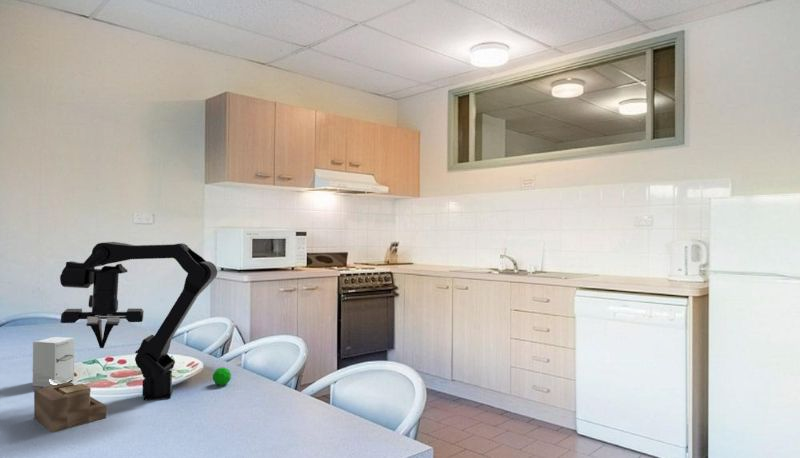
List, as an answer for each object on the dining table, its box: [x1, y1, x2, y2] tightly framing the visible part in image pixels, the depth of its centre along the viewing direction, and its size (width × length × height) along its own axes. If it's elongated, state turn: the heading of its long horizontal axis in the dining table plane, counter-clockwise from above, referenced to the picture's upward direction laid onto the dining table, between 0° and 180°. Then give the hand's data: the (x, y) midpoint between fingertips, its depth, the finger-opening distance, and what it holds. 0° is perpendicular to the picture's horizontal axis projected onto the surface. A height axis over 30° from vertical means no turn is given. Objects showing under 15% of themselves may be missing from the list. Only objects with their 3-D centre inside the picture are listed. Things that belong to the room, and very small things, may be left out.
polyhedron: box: [212, 367, 232, 387], centre depth 151 cm, size 5×5×5 cm
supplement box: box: [32, 336, 75, 388], centre depth 151 cm, size 7×7×13 cm
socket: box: [33, 381, 107, 433], centre depth 125 cm, size 11×12×7 cm
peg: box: [59, 383, 91, 406], centre depth 125 cm, size 5×5×7 cm
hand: (102, 347), depth 140 cm, fingers closed
